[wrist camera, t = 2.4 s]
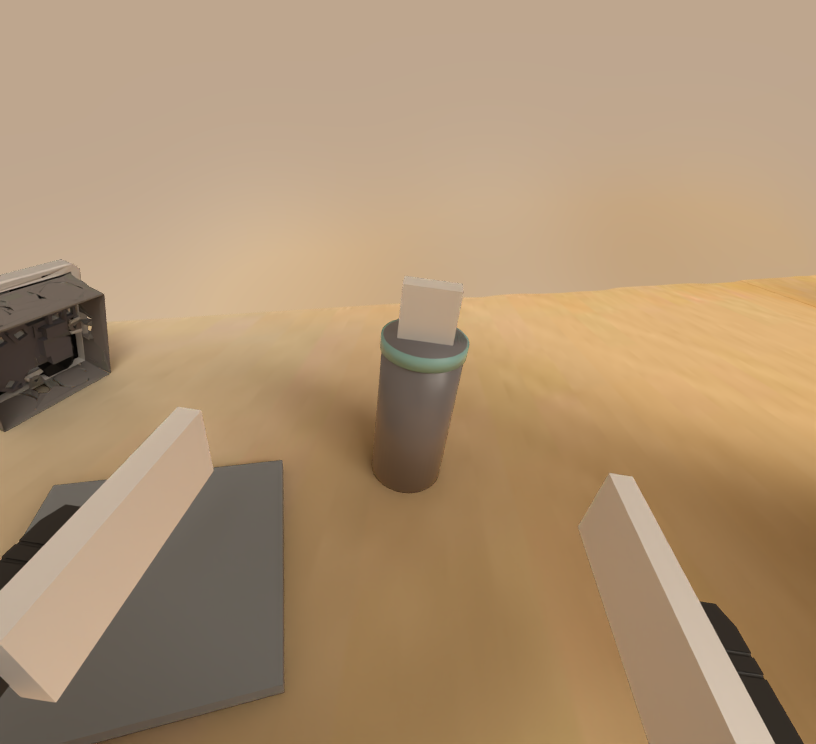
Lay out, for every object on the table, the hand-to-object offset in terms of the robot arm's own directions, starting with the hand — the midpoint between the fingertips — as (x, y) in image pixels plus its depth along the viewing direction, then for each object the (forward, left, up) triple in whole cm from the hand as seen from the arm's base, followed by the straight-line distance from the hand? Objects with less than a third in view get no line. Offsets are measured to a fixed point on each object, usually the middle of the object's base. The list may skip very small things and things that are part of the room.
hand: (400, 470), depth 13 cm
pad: (+10, -4, -10) cm, 15 cm away
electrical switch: (+20, -20, -10) cm, 30 cm away
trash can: (-4, -9, -10) cm, 14 cm away
